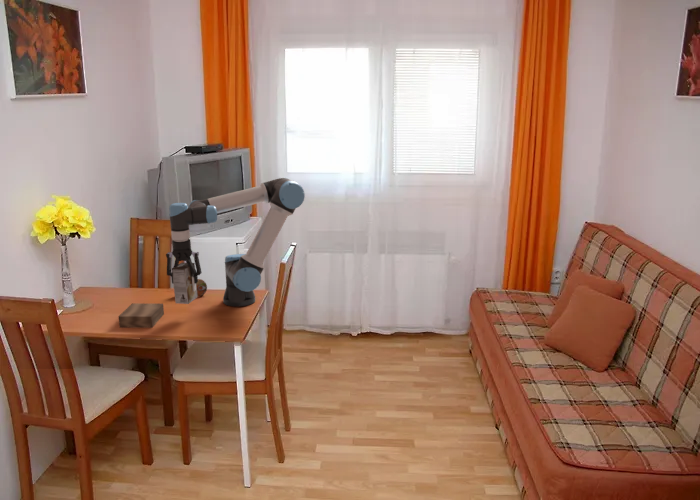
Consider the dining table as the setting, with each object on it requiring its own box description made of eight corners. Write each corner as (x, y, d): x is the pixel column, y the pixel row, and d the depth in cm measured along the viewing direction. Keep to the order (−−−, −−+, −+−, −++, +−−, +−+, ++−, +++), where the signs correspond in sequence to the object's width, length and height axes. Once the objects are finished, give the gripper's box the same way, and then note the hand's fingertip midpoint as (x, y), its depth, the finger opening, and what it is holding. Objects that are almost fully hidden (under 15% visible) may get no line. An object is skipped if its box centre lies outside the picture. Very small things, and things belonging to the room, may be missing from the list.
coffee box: (184, 296, 264) (181, 262, 259) (198, 297, 262) (195, 262, 258) (174, 303, 255) (171, 268, 251) (188, 304, 254) (185, 268, 249)
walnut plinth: (164, 313, 266) (163, 303, 265) (152, 327, 251) (151, 316, 250) (133, 313, 266) (132, 303, 265) (119, 327, 251) (118, 316, 250)
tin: (175, 297, 288) (174, 281, 286) (176, 295, 291) (175, 279, 289) (207, 296, 291) (206, 279, 288) (207, 293, 294) (206, 277, 291)
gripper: (206, 237, 255) (210, 287, 261) (160, 237, 255) (165, 287, 261) (202, 241, 248) (206, 293, 254) (154, 241, 248) (160, 293, 254)
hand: (185, 290), depth 257 cm, fingers closed on coffee box, 7 cm apart
